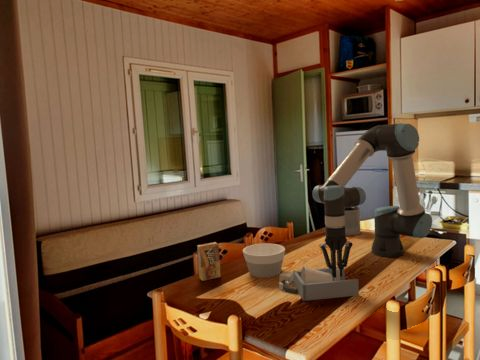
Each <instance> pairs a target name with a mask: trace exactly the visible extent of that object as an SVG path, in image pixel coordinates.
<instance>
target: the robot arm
mask: <svg viewBox="0 0 480 360" xmlns="http://www.w3.org/2000/svg"><path fill="white" fill-rule="evenodd" d="M419 142H420V135H419V131H418V130H417V128H416V127H415V126H414V125H413V124H411V123H390V124H378V125H376V126H373V127H371V128H369V129H368V130H366V131H365V132H364V133H363V134H362V135H360V136H359V138H358V139H357V140H356V141H355V142H354V147H352V149H351V151H350V152H349V153H348V154H347V155H346V157H345V158H344V159H343V160H342V162H340V164H339V165H338V166H337V168H336V169H335V170H334V172H332V174H331V175H329V177H328V178H327V179H326V181H325V182H324V183H323V184H318V185H316V186H314V188H313V190H312V198H313V200H314V201H315V202H317V203H321V204H323V205H324V206H323V207H324V225H325V228H324V229H325V238H324V242H323V243H320V244H319V246H318V247H319V248H320V250H321V251H322V254H323V257H324V262H325V263H326V264H325V265H326V268H329V269H332V276H333V277H334V278H335V281H339V280H340V277H342V270H343V268H344V269H345V268H347V266H348V263H349V258H350V253H351V249H352V247H353V245H354V243H352V242H351V241H350V240H348V239H347V236H345V235H346V233H345V226H344V225H345V208H350V207H354V206H356V207H359V206H361V205H363V204H364V203H365V201H366V199H367V195H366V194H367V193H366V191H365V190H364V189H363V187H361V186H352V187H346V185H347V184H348V183H349V181H350V180H351V179H352V178H353V176H354V175H355V174H356V173H357V172H358V170H359V169H360V168H361V167H362V165H363V164H364V163H366V160H367V159H369V157H373V155H374V154H375V153H376V152H380V151H383V152H384V151H385V152H386V156H387V158H389V159H390V160H391V164H392V170H393V176H394V179H395V180H394V181H395V186H396V190H397V191H396V192H397V196H398V203H399V205H388V206H386V205H385V206H381V207H377V208H375V209H374V215H373V218H374V239H373V242H372V244H371V248H370V249H371V253H372V254H373V255H376V256H379V257H384V258H385V257H387V258H388V257H389V258H390V257H391V258H392V257H396V258H397V257H400V256H402V255H403V256H404V254H405V249H404V245H403V243H402V240H401V236H406V237H411V238H413V239H423V238H426V237H427V236H428V235H429V233H430V232H431V229H432V227H433V226H432V225H433V217H432V215H431V214H430V213H426V210H425V206H423V205H422V204H421V203H420V202H421V201H420V195H419V188H418V185H417V184H418V183H417V177H416V171H415V166H414V159H413V156H414V154H415V153H416V149H418V147H419V146H420V145H419V144H420V143H419ZM400 235H401V236H400ZM327 247H328V248H329V251H330V257H329V253H328V250H327ZM343 248H344V250H343ZM336 267H338V268H336Z"/></svg>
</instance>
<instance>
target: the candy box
mask: <svg viewBox="0 0 480 360" xmlns="http://www.w3.org/2000/svg"><path fill="white" fill-rule="evenodd" d="M219 245H220V244H219V243H217V242H216V241H214V242H209V243H203V244H198V245H196V248H197V250H196V251H197V265H198V276H199V277H198V279H199V280H201V281H208V280H212V279H217V278H221V264H220V263H221V262H220V247H219Z"/></svg>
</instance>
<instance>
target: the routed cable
mask: <svg viewBox="0 0 480 360" xmlns="http://www.w3.org/2000/svg"><path fill="white" fill-rule="evenodd" d="M285 281H287V280H283V281H282V282H281V283H283V291H285V292H287V293H291V294H298V289H296V288H295V287H291V286H290V287H288V286H287V285H286V284H285Z"/></svg>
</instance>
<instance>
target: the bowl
mask: <svg viewBox="0 0 480 360" xmlns="http://www.w3.org/2000/svg"><path fill="white" fill-rule="evenodd" d="M242 254H243V256H244V259H245V263H246V266H247V269H248V272H249V275H250V276H252V277H254V278H261V279H263V278H264V279H266V278H267V279H268V278H273V277H276V276H279V275H280V274H281V271H282V267H283V263H284V259H285V255H286V248H285V246H284V245H281V244H277V243H256V244H255V243H254V244H252V245H251V244H250V245H247V246H245V247H243V249H242Z"/></svg>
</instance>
